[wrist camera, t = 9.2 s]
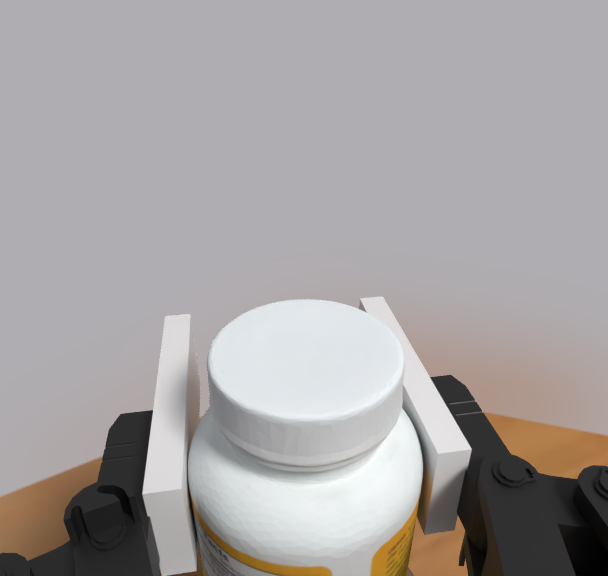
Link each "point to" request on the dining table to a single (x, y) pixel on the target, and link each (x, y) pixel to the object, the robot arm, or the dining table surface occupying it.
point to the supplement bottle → (305, 447)
